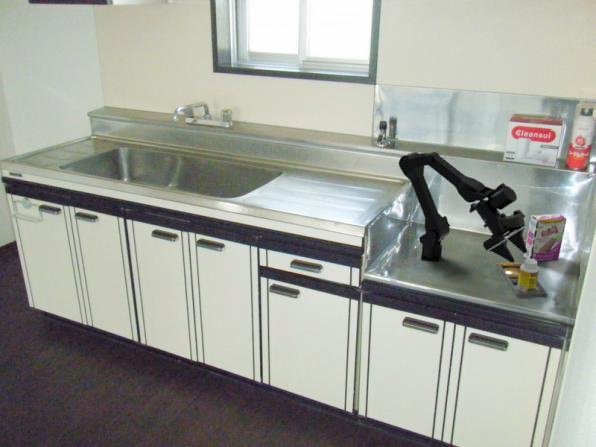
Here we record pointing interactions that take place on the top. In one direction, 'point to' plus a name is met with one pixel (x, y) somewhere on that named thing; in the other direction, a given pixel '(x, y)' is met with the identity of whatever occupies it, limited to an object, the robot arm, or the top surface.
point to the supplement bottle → (528, 276)
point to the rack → (512, 277)
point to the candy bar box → (545, 237)
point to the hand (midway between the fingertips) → (519, 257)
